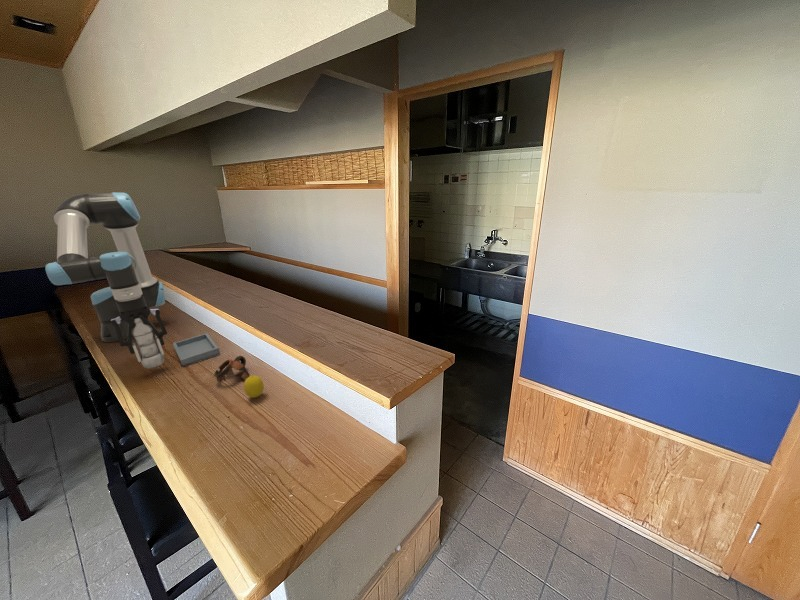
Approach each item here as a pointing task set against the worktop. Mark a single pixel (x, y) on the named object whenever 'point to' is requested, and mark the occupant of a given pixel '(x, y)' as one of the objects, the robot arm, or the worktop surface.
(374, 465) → the worktop surface
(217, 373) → the brown irregular piece
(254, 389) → the lemon
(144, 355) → the plastic bottle
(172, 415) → the worktop surface
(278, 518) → the worktop surface
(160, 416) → the worktop surface
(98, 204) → the robot arm
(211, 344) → the tray
